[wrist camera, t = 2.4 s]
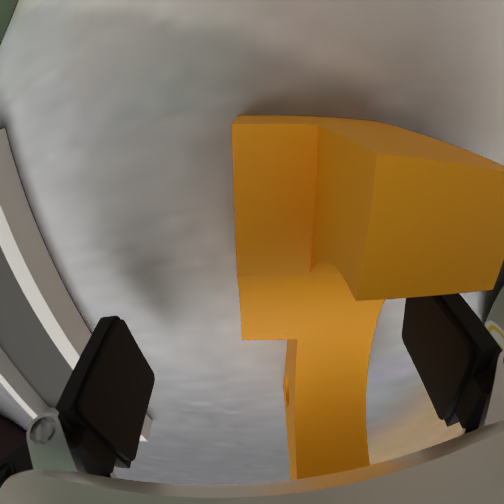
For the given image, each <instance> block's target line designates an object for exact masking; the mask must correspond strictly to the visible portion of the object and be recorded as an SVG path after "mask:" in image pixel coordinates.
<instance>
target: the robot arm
mask: <svg viewBox="0 0 504 504" xmlns="http://www.w3.org/2000/svg"><path fill="white" fill-rule="evenodd" d="M402 339H403V342H404V344H405V346H406V348H407V350H408V352H409V354H410V356H411V358H412V361H413V363H414V365H415V367H416V369H417V371H418V373H419V375H420V377H421V379H422V381H423V384H424V386H425V388H426V390H427V392H428V395H429V397H430V399H431V401H432V404H433V406H434V408H435V410H436V413H437V415H438V417H439V418H440V419H441V420H443V419H444V420H445V422H446V425H447V427H448V426H450V425H453V424H455V423H458V422H460V424H461V426H462V428H463V431H462V434H461V436H458V437H456V438H453V439H451V440H448V441H446V442H443V443H440V444H438V445H435V446H432V447H429V448H426V449H423V450H420V451H417V452H414V453H411V454H408V455H405V456H402V457H398V458H395V459H392V460H388V461H385V462H381V463H377V464H373V465H369V466H365V467H361V468H357V469H353V470H348V471H343V472H338V473H333V474H328V475H322V476H316V477H310V478H303V479H296V480H288V481H279V482H269V483H256V484H239V485H181V484H164V483H151V482H141V481H133V480H125V479H118V478H117V477H116V475H115V473H114V472H113V469H114V465H115V466H116V467H122V468H130V464H131V461H133V460H134V459H135V457H136V453H137V449H138V444H139V440H140V436H141V432H142V428H143V424H144V420H145V416H146V412H147V408H148V404H149V400H150V396H151V393H152V389H153V385H154V381H155V378H154V373H153V371H152V369H151V368H150V366H149V364H148V363H147V361H146V359H145V357H144V356H143V354H142V352H141V350H140V349H139V347H138V345H137V343H136V341H135V340H134V338H133V336H132V334H131V332H130V330H129V329H128V327H127V325H126V323H125V321H124V320H122V319H120V318H119V317H118V316H110V317H103V318H101V319H100V320H99V322H98V324H97V326H96V328H95V329H94V331H93V333H92V335H91V337H90V339H89V341H88V342H87V344H86V346H85V348H84V350H83V352H82V354H81V356H80V358H79V360H78V362H77V364H76V366H75V368H74V370H73V372H72V374H71V376H70V378H69V380H68V382H67V384H66V386H65V388H64V390H63V392H62V395H61V397H60V399H59V401H58V403H57V405H56V408H55V409H56V410H57V411H58V412H59V414H58V417H57V416H56V415H55V414H52V413H43V414H41V415H39V416H37V417H36V418H35V419H34V420H33V421H32V422H31V423H30V425H29V427H28V429H27V434H26V436H27V443H25V444H24V445H22V446H21V447H19V448H17V449H16V450H14V451H13V452H11V453H9V454H8V455H6V456H5V457H3V458H1V459H0V504H504V350H502V349H501V347H500V346H499V344H498V343H497V342H496V340H495V339H494V338H493V336H492V335H491V334H490V332H489V331H488V329H487V328H486V327H485V326H484V324H483V323H482V322H481V320H480V319H479V318H478V316H477V315H476V314H475V313H474V311H473V310H472V309H471V308H470V306H469V305H468V304H467V303H466V301H465V300H464V299H463V298H462V296H461V295H460V294H459V293H456V294H446V295H435V296H423V297H410V298H406V304H405V313H404V321H403V329H402Z"/></svg>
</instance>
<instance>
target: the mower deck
mask: <svg viewBox="0 0 504 504" xmlns="http://www.w3.org/2000/svg"><path fill="white" fill-rule="evenodd" d="M17 1H18V0H0V43H1V41H2V38H3V36H4V33H5V31H6V29H7V26H8V24H9V22H10V19H11V17H12V14H13V11H14V9H15V6H16V4H17ZM91 335H92V334H91V332H90V331H89V329H88V327H87V326H86V324H85V322H84V321H83V319H82V317H81V315H80V314H79V312H78V310H77V308H76V306H75V305H74V303H73V301H72V299H71V297H70V295H69V293H68V292H67V290H66V288H65V286H64V284H63V282H62V280H61V278H60V276H59V274H58V272H57V270H56V268H55V266H54V263H53V261H52V259H51V257H50V255H49V253H48V250H47V248H46V246H45V244H44V241H43V239H42V237H41V234H40V232H39V230H38V227H37V225H36V222H35V220H34V217H33V215H32V212H31V210H30V207H29V204H28V202H27V199H26V196H25V193H24V190H23V187H22V185H21V182H20V179H19V175H18V172H17V169H16V166H15V163H14V159H13V156H12V152H11V149H10V145H9V141H8V138H7V134H6V130H5V128H3V129H0V383H1V384H2V385H3V386H4V387H5V388H6V390H7V391H8V392H9V393H10V394H11V395H12V397H13V398H14V399H15V400H16V401H17V402H18V403H19V404H20V405H21V406H22V408H23V409H24V410H25V411H26V412H27V413H28V414H29V415H30V416H31V417H32V418H33V419H35V418H36V417H37V416H39V415H41V414H43V413H52V414H55V415H56V416H57V417H58V414H59V412H58V411H57V410H56V409H55V408H56V405H57V403H58V401H59V399H60V397H61V395H62V392H63V390H64V388H65V386H66V384H67V382H68V380H69V378H70V376H71V374H72V372H73V370H74V368H75V366H76V364H77V362H78V360H79V358H80V356H81V354H82V352H83V350H84V348H85V346H86V344H87V342H88V341H89V339H90V337H91ZM151 425H152V420H151V419H150V417H149V416H148V415H147V414H146V416H145V420H144V424H143V428H142V432H141V436H140V440H139V441H148V438H149V433H150V429H151Z"/></svg>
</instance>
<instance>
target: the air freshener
mask: <svg viewBox="0 0 504 504" xmlns="http://www.w3.org/2000/svg"><path fill="white" fill-rule="evenodd" d="M484 326H485V327H486V328H487V329H488V331H489V332H490V334H491V335H492V336H493V338H494V339H495V340H496V342H497V343H498V344H499V346H500V347H501V349H502V350H504V285H503V287H502V289H501V290H500V292H499V294H498V296H497V298H496V300H495V302H494V303H493V305H492V308H491V310H490V312H489V315H488V317H487V319H486V322H485V325H484Z"/></svg>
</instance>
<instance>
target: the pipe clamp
mask: <svg viewBox="0 0 504 504" xmlns="http://www.w3.org/2000/svg"><path fill="white" fill-rule="evenodd" d="M232 151H233V182H234V210H235V236H236V260H237V278H238V286H239V297H240V311H241V329H242V340H280V339H287V352H286V363H285V374H284V385H283V390H284V401H285V413H286V425H287V437H288V450H289V463H290V476H291V480H296V479H303V478H310V477H316V476H322V475H328V474H333V473H338V472H343V471H348V470H353V469H357V468H361V467H365V466H369V465H370V463H369V455H368V445H367V432H366V387H367V373H368V364H369V357H370V350H371V344H372V339H373V335H374V330H375V326H376V323H377V319H378V316H379V313H380V310H381V308H382V305H383V303H384V300H385V299H396V298H410V297H423V296H435V295H446V294H456V293H466V292H476V291H485V290H493V288H494V286H495V283H496V280H497V278H498V275H499V272H500V269H501V266H502V263H503V260H504V166H503V165H500V164H498V163H496V162H494V161H491V160H489V159H487V158H484V157H482V156H479V155H477V154H475V153H472V152H470V151H467V150H464V149H462V148H459V147H457V146H454V145H451V144H449V143H446V142H443V141H440V140H437V139H434V138H431V137H428V136H425V135H422V134H419V133H416V132H413V131H410V130H407V129H403V128H400V127H396V126H393V125H389V124H386V123H382V122H378V121H369V120H359V119H348V118H334V117H318V116H291V115H240V116H237V118H236V119H235V120H234V122H233V123H232Z"/></svg>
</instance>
